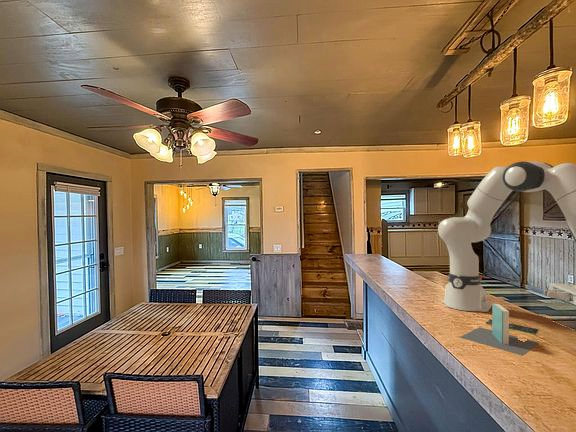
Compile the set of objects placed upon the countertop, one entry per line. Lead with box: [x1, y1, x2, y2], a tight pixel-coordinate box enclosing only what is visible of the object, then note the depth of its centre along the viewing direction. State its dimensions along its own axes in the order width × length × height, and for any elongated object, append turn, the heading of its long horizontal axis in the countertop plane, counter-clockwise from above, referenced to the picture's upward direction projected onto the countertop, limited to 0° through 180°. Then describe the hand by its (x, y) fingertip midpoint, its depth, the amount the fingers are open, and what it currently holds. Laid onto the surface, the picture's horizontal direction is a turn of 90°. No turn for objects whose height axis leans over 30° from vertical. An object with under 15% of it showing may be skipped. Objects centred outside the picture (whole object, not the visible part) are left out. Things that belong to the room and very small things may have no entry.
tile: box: [491, 303, 510, 345], centre depth 102 cm, size 2×9×10 cm, turn 163°
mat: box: [459, 326, 540, 356], centre depth 101 cm, size 16×17×1 cm
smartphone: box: [485, 319, 539, 335], centre depth 114 cm, size 8×1×15 cm
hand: (545, 293), depth 98 cm, fingers closed
